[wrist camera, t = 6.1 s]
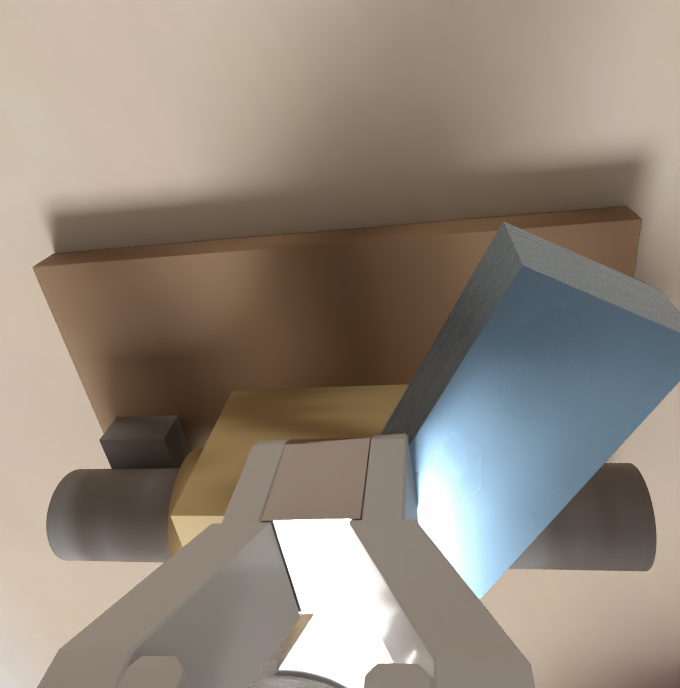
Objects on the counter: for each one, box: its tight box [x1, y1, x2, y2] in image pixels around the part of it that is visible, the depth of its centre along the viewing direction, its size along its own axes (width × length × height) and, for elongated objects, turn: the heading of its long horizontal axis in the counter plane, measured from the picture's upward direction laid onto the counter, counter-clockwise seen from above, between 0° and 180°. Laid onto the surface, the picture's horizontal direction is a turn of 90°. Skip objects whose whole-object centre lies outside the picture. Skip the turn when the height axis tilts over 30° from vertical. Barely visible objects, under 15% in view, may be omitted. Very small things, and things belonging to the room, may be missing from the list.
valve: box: [32, 206, 656, 571], centre depth 16 cm, size 18×12×8 cm, turn 97°
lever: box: [249, 221, 680, 688], centre depth 10 cm, size 13×3×2 cm, turn 158°
